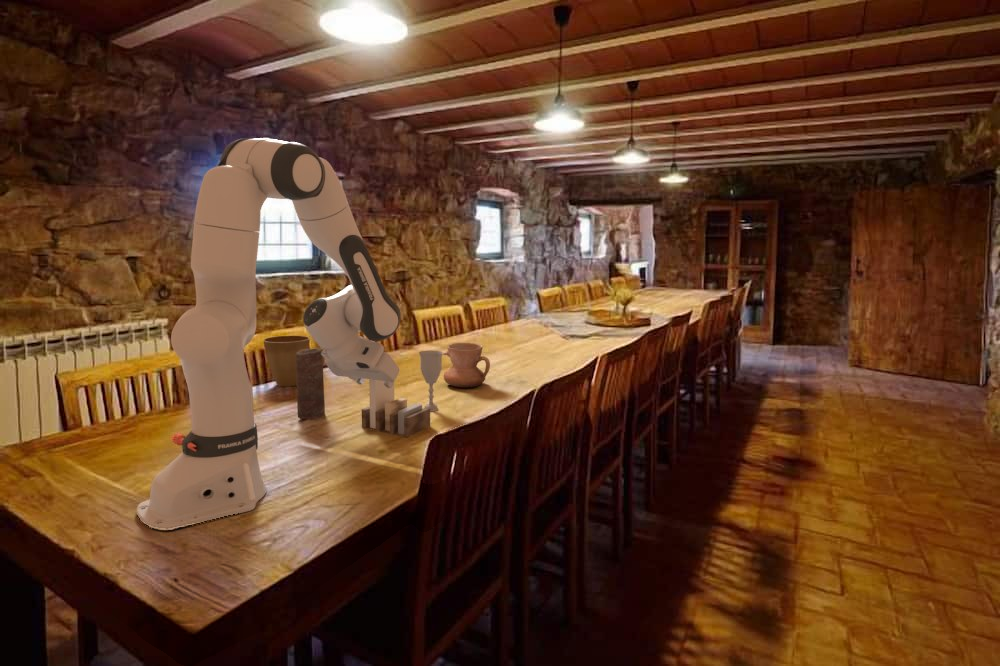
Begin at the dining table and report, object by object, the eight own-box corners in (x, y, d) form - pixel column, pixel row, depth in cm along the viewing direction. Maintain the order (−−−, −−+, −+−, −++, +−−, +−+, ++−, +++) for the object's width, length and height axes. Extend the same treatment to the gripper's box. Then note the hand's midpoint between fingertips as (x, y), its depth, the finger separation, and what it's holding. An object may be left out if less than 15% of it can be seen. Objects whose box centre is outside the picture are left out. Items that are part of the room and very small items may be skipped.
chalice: (414, 413, 174) (413, 353, 171) (427, 407, 180) (427, 349, 177) (434, 417, 170) (435, 356, 167) (447, 411, 176) (448, 352, 173)
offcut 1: (391, 431, 155) (390, 405, 154) (385, 429, 156) (384, 404, 154) (407, 423, 161) (406, 399, 160) (401, 422, 162) (400, 397, 161)
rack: (408, 440, 151) (407, 418, 150) (362, 431, 157) (361, 409, 156) (430, 429, 159) (430, 408, 158) (385, 420, 166) (385, 400, 165)
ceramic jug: (432, 386, 205) (433, 346, 202) (453, 377, 217) (454, 339, 215) (478, 394, 197) (479, 352, 194) (497, 384, 210) (498, 345, 207)
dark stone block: (316, 424, 162) (314, 352, 159) (292, 422, 164) (289, 351, 160) (329, 416, 169) (328, 347, 166) (306, 414, 171) (304, 346, 168)
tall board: (376, 428, 156) (375, 369, 154) (370, 427, 157) (369, 368, 155) (394, 420, 163) (394, 364, 161) (388, 419, 164) (388, 363, 162)
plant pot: (320, 382, 206) (318, 337, 203) (284, 392, 194) (282, 344, 191) (292, 376, 214) (290, 333, 211) (256, 385, 201) (253, 339, 199)
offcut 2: (404, 434, 152) (404, 412, 151) (398, 433, 153) (397, 411, 152) (422, 426, 159) (422, 404, 158) (416, 424, 160) (415, 403, 159)
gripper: (311, 359, 149) (340, 390, 159) (375, 365, 140) (402, 397, 149) (324, 340, 152) (351, 371, 162) (387, 344, 143) (412, 377, 153)
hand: (376, 384), depth 156 cm, fingers open, 8 cm apart
